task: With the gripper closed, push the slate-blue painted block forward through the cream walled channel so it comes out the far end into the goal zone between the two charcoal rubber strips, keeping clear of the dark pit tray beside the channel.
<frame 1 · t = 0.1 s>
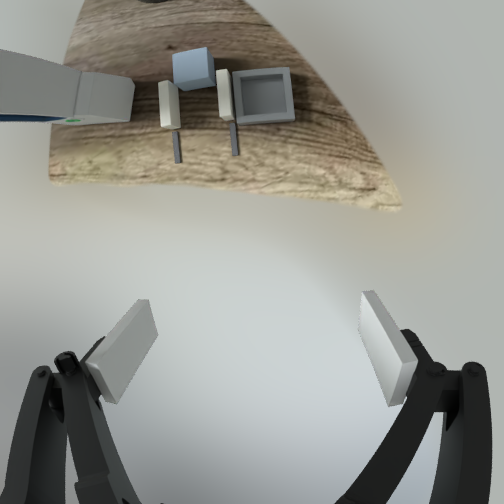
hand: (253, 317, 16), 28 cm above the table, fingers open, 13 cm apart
channel: (200, 102, 38), on the table
electronic device: (106, 104, 38), on the table
block: (199, 74, 36), on the table
pit tray: (263, 98, 37), on the table
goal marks: (204, 142, 40), on the table
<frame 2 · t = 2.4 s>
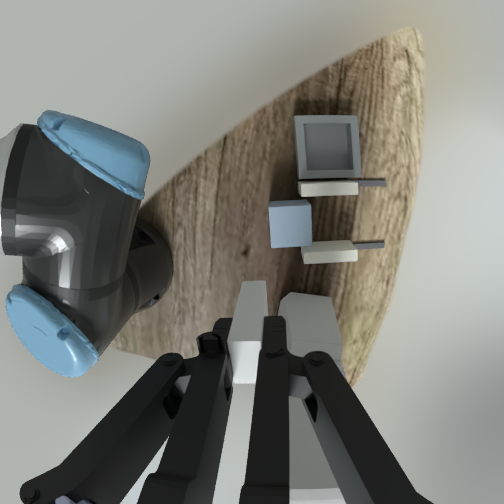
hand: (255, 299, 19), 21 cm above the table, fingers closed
channel: (324, 216, 37), on the table
electronic device: (298, 324, 43), on the table
block: (288, 218, 38), on the table
pit tray: (325, 147, 34), on the table
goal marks: (369, 214, 37), on the table
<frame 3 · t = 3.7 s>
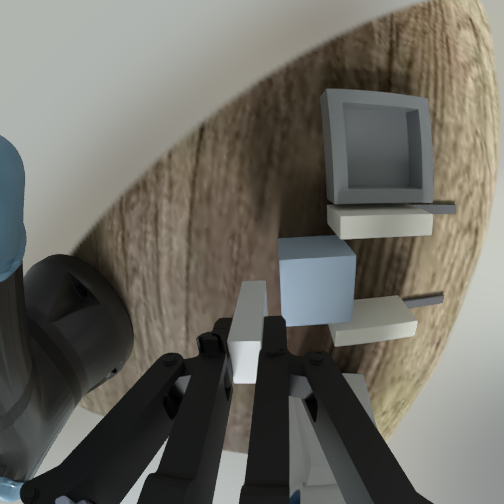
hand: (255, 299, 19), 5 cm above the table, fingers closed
channel: (366, 262, 22), on the table
electronic device: (313, 401, 28), on the table
block: (309, 265, 23), on the table
pit tray: (372, 147, 19), on the table
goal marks: (429, 257, 22), on the table
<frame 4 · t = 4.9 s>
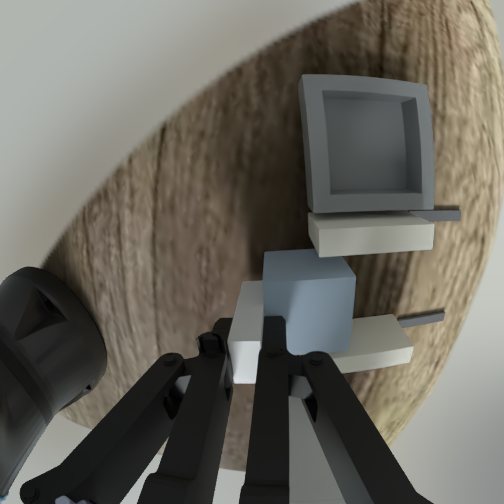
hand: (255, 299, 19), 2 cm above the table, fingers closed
channel: (356, 278, 19), on the table
electronic device: (300, 423, 25), on the table
block: (301, 282, 20), on the table, touching gripper
pit tray: (362, 144, 16), on the table
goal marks: (429, 270, 19), on the table
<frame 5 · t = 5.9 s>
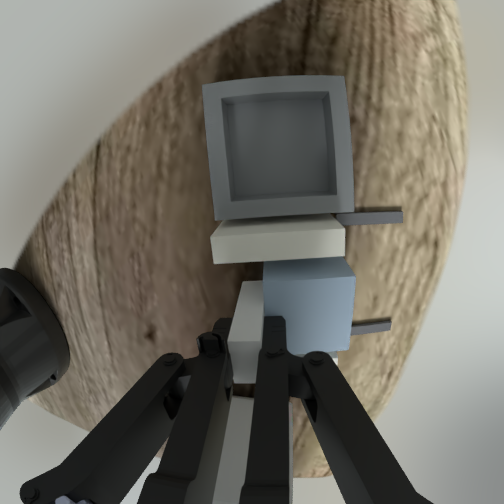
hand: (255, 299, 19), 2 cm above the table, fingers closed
channel: (280, 283, 20), on the table
electronic device: (247, 424, 26), on the table
block: (301, 282, 20), on the table, touching gripper
pit tray: (278, 146, 17), on the table
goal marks: (367, 277, 19), on the table
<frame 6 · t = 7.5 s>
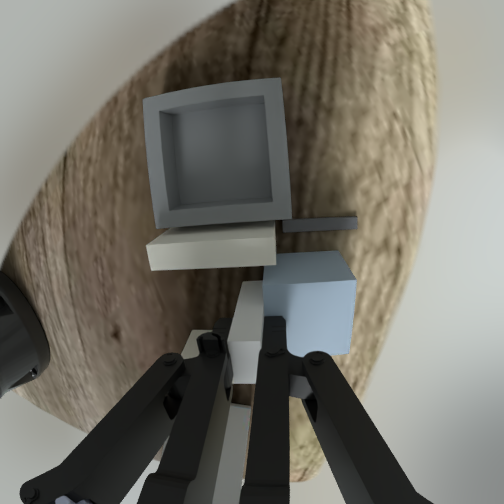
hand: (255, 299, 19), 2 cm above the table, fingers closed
channel: (229, 290, 20), on the table
electronic device: (213, 425, 26), on the table
block: (302, 285, 20), on the table
pit tray: (222, 153, 17), on the table
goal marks: (320, 285, 20), on the table
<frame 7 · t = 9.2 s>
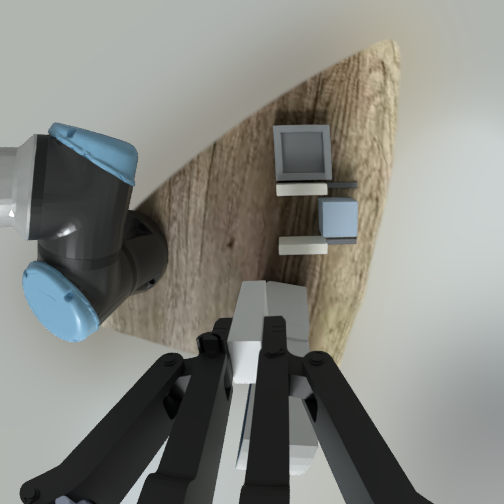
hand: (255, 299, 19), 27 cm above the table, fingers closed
channel: (300, 214, 43), on the table
electronic device: (278, 311, 49), on the table
block: (334, 213, 42), on the table
pit tray: (301, 152, 40), on the table
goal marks: (341, 213, 42), on the table
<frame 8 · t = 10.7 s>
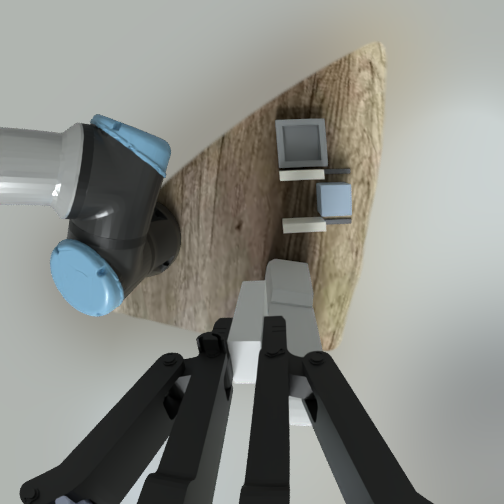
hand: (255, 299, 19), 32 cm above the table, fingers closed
channel: (301, 197, 48), on the table
electronic device: (282, 287, 54), on the table
block: (330, 196, 47), on the table
pit tray: (300, 143, 45), on the table
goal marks: (337, 196, 47), on the table
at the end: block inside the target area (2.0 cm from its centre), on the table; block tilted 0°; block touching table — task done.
